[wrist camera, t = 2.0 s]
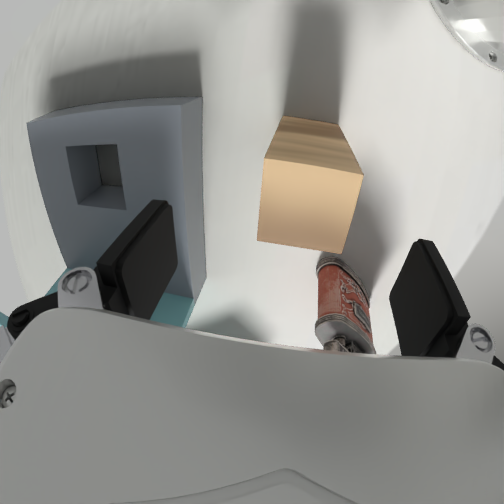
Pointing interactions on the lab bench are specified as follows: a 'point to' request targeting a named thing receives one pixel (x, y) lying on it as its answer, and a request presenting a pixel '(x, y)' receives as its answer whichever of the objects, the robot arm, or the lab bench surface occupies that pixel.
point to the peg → (308, 186)
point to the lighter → (342, 309)
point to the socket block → (125, 184)
